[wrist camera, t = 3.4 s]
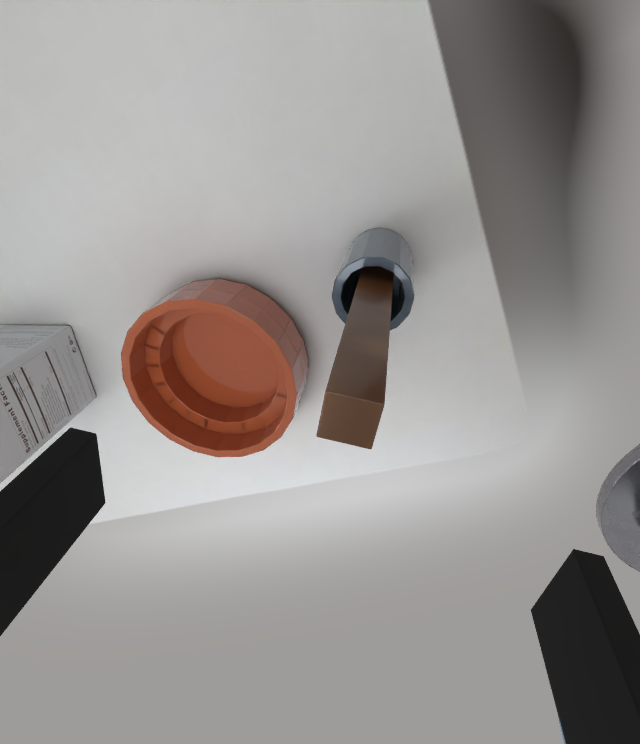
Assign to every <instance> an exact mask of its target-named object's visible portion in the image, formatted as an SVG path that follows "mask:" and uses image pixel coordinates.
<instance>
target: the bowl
mask: <svg viewBox="0 0 640 744" xmlns="http://www.w3.org/2000/svg"><path fill="white" fill-rule="evenodd" d="M121 360H122V373H123V380H124V382H125V384H126V387H127V389H128V392H129V394H130V397H131V399H132V401H133V403H134V404H135V405H136V407H137V408H138V409H139V411H140V412H141V413H142V415H143V416H144V417H145V418H146V420H147V421H148V422H149V423H150V424H151V425H152V426H154V427H155V428H156V429H157V430H158V431H160V432H161V433H162V434H163V435H165V436H166V437H167V438H168V439H170V440H172V441H174V442H176V443H178V444H180V445H182V446H184V447H186V448H188V449H190V450H193V451H194V452H198V453H203V454H207V455H211V456H215V457H241V456H246V455H249V454H252V453H255V452H259V451H262V450H264V449H266V448H267V447H268V446H270V445H271V444H272V443H274V442H275V441H276V440H278V439H279V438H281V436H282V435H283V434H284V432H285V430H286V429H287V427H288V425H289V424H290V422H291V421H292V419H293V417H294V414H295V412H296V409H297V406H298V404H299V401H300V398H301V396H302V393H303V391H304V388H305V383H306V377H307V371H308V361H307V355H306V350H305V344H304V341H303V339H302V337H301V336H300V334H299V332H298V330H297V328H296V326H295V325H294V323H293V321H292V319H291V318H290V317H289V316H288V315H287V314H286V313H285V312H284V311H283V310H282V309H281V308H280V307H279V306H278V305H277V304H276V303H275V302H274V301H273V300H272V299H271V298H270V297H268V296H266V295H264V294H262V293H260V292H259V291H257V290H255V289H253V288H251V287H250V286H248V285H245V284H240V283H236V282H231V281H227V280H222V279H213V280H203V281H194V282H191V283H189V284H187V285H185V286H183V287H181V288H179V289H177V290H175V291H173V292H171V293H170V294H169V295H167V296H166V297H165V298H163V299H162V300H160V301H159V302H158V303H156V304H155V305H153V306H152V307H151V308H149V309H148V310H147V311H145V312H144V313H143V314H142V315H141V316H140V317H139V318H138V319H137V321H136V322H135V323H134V324H133V325H132V327H131V328H130V329H129V330H128V332H127V335H126V338H125V342H124V345H123V349H122V352H121Z"/></svg>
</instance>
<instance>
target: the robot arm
mask: <svg viewBox="0 0 640 744" xmlns="http://www.w3.org/2000/svg"><path fill="white" fill-rule="evenodd" d="M104 504H105V496H104V489H103V481H102V473H101V466H100V458H99V450H98V443H97V435H96V434H95V433H91V432H87V431H83V430H78V429H74V428H69V429H68V430H67V431H66V432H65V433H64V434H63V435H62V436H61V437H60V438H58V439H57V440H56V441H55V442H54V443H53V444H52V445H51V446H50V447H49V448H47V449H46V450H45V451H44V452H43V453H42V454H41V455H40V456H39V457H38V458H36V459H35V460H34V461H33V462H32V463H31V464H30V465H29V466H28V467H27V468H26V469H24V470H23V471H22V472H21V473H20V474H19V475H18V476H17V477H16V478H15V479H13V480H12V481H11V482H10V483H9V484H8V485H7V486H6V487H5V488H4V489H2V490H1V491H0V636H1V635H2V633H3V632H4V631H5V630H6V628H7V627H8V626H9V624H10V623H11V622H12V621H13V619H14V618H15V617H16V616H17V614H18V613H19V612H20V611H21V609H22V608H23V607H24V605H25V604H26V603H27V601H28V600H29V599H30V598H31V597H32V595H33V594H34V593H35V591H36V590H37V589H38V588H39V586H40V585H41V584H42V583H43V581H44V580H45V579H46V578H47V576H48V575H49V574H50V572H51V571H52V570H53V569H54V567H55V566H56V565H57V563H58V562H59V561H60V560H61V558H62V557H63V556H64V555H65V553H66V552H67V551H68V550H69V548H70V547H71V545H73V543H74V542H75V541H76V539H77V538H78V537H79V536H80V534H81V533H82V532H83V531H84V529H85V528H86V527H87V525H88V524H89V523H90V522H91V520H92V519H93V518H94V517H95V515H96V514H97V513H98V512H99V510H100V509H101V508H102V506H103V505H104ZM531 612H532V616H533V620H534V624H535V628H536V632H537V635H538V639H539V643H540V646H541V651H542V654H543V658H544V662H545V666H546V670H547V674H548V678H549V681H550V685H551V689H552V692H553V697H554V701H555V704H556V708H557V712H558V717H559V722H560V727H561V731H562V736H563V740H564V744H640V634H639V632H638V630H637V628H636V626H635V624H634V621H633V619H632V617H631V615H630V613H629V611H628V608H627V606H626V604H625V602H624V600H623V597H622V595H621V593H620V591H619V589H618V587H617V584H616V582H615V580H614V578H613V576H612V574H611V571H610V569H609V567H608V565H607V563H606V561H605V558H604V557H603V556H600V555H596V554H592V553H588V552H583V551H579V550H575V549H573V551H572V552H571V554H570V555H569V557H568V558H567V559H566V561H565V562H564V563H563V565H562V566H561V568H560V569H559V571H558V572H557V573H556V575H555V576H554V578H553V579H552V581H551V582H550V584H549V585H548V586H547V588H546V589H545V591H544V592H543V594H542V595H541V596H540V598H539V599H538V601H537V602H536V603H535V605H534V606H533V608H532V609H531Z"/></svg>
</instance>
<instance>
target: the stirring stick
mask: <svg viewBox="0 0 640 744" xmlns="http://www.w3.org/2000/svg"><path fill="white" fill-rule="evenodd" d="M393 279H394V273H393V272H391V271H389V270H387V269H384V268H382V267H380V266H371V267H363V268H362V270H361V273H360V277H359V280H358V283H357V287H356V290H355V293H354V297H353V300H352V304H351V307H350V310H349V314H348V317H347V320H346V324H345V327H344V330H343V334H342V337H341V341H340V344H339V347H338V351H337V354H336V357H335V361H334V364H333V368H332V371H331V374H330V378H329V381H328V384H327V388H326V391H325V396H324V401H323V406H322V411H321V416H320V421H319V426H318V431H317V437H321V438H325V439H329V440H333V441H338V442H342V443H346V444H350V445H354V446H359V447H363V448H367V449H371V448H372V446H373V442H374V439H375V435H376V432H377V428H378V425H379V421H380V418H381V414H382V411H383V408H384V403H385V389H386V375H387V361H388V348H389V334H390V320H391V306H392V292H393Z"/></svg>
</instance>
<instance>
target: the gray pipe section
mask: <svg viewBox="0 0 640 744" xmlns="http://www.w3.org/2000/svg"><path fill="white" fill-rule="evenodd" d="M371 266H380V267H382V268H384V269H387V270H389V271H391V272H393V273H394V279H393V292H392V306H391V320H390V330H392V329H394V328H397V327H398V326H399V325H400V324H401V323H402V322H403V321H404V319H405V318H406V317H407V316H408V315H409V313H410V311H411V307H412V304H413V300H414V283H413V265H412V258H411V251H410V248H409V246H408V244H407V242H406V241H405V239H404V238H403V237H402V236H401V235H400V234H398V233H397V232H395V231H393V230H390V229H386V228H374V229H370V230H368V231H365V232H364V233H362V234H361V235H359V236H358V237H357V238H356V239H355V241H354V242H353V243H352V245H351V247H350V248H349V250H348V252H347V254H346V257H345V259H344V261H343V263H342V266H341V268H340V270H339V272H338V275H337V277H336V279H335V282H334V287H333V293H332V300H333V304H334V307H335V311H336V313H337V315H338V316H339V317H340V318H341V320H342V321H343V322H344V323H345V324H346V320H347V317H348V314H349V310H350V307H351V304H352V300H353V297H354V293H355V290H356V287H357V283H358V280H359V277H360V273H361V270H362V268H363V267H371Z"/></svg>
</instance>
